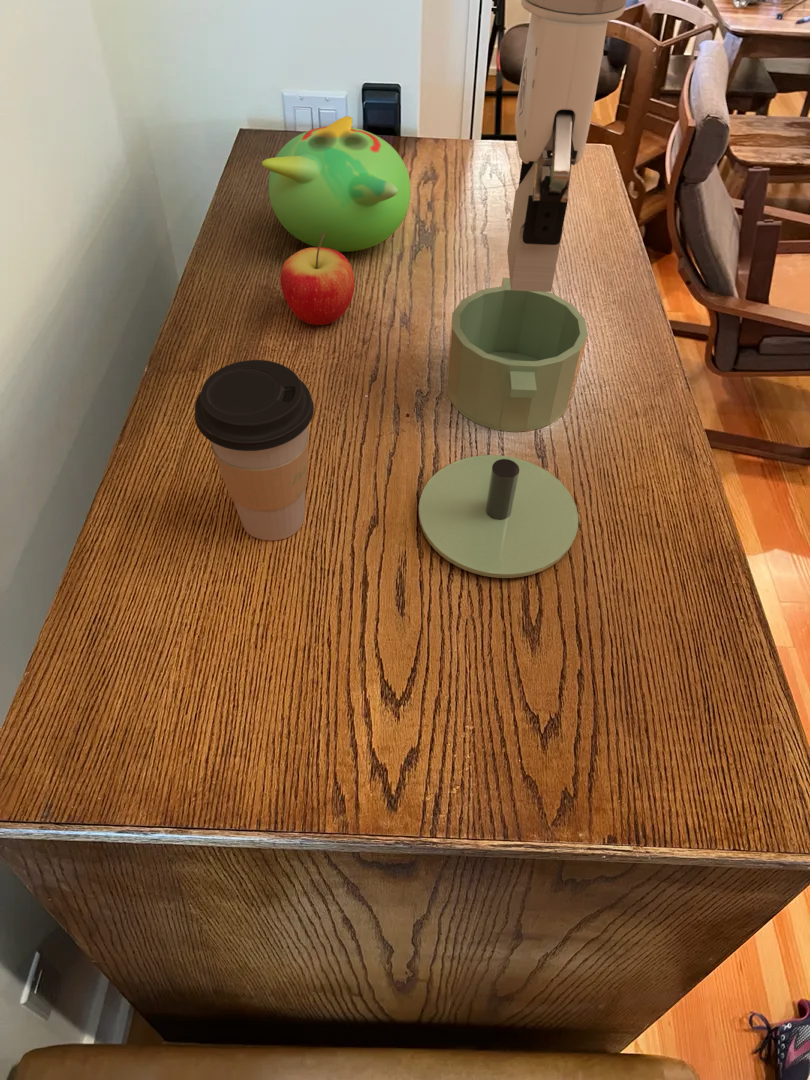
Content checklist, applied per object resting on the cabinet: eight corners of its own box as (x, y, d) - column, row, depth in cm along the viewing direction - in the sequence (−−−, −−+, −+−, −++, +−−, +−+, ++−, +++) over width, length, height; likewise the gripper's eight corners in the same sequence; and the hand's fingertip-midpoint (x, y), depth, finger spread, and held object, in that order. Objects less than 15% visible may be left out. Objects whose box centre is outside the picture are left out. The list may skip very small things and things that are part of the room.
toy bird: (414, 216, 108) (418, 104, 96) (401, 283, 97) (404, 165, 86) (287, 207, 109) (277, 94, 97) (261, 272, 98) (245, 154, 86)
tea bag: (510, 290, 71) (526, 181, 63) (507, 251, 75) (521, 145, 67) (550, 291, 70) (571, 183, 63) (545, 252, 75) (563, 147, 67)
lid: (567, 466, 77) (581, 415, 72) (584, 586, 67) (601, 537, 62) (420, 460, 77) (422, 408, 72) (416, 578, 67) (418, 529, 62)
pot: (562, 340, 90) (576, 274, 84) (579, 452, 78) (598, 386, 72) (446, 335, 90) (452, 269, 84) (446, 446, 78) (452, 380, 72)
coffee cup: (336, 540, 70) (327, 414, 58) (234, 569, 68) (204, 444, 56) (306, 470, 75) (292, 343, 64) (211, 495, 73) (179, 367, 62)
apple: (368, 311, 93) (367, 233, 85) (326, 346, 88) (320, 267, 81) (314, 289, 96) (308, 212, 88) (270, 322, 91) (260, 243, 83)
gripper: (517, -53, 61) (492, 173, 74) (532, 21, 50) (499, 271, 63) (612, -50, 61) (569, 177, 74) (648, 26, 50) (590, 275, 63)
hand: (537, 218), depth 69 cm, fingers closed on tea bag, 6 cm apart
